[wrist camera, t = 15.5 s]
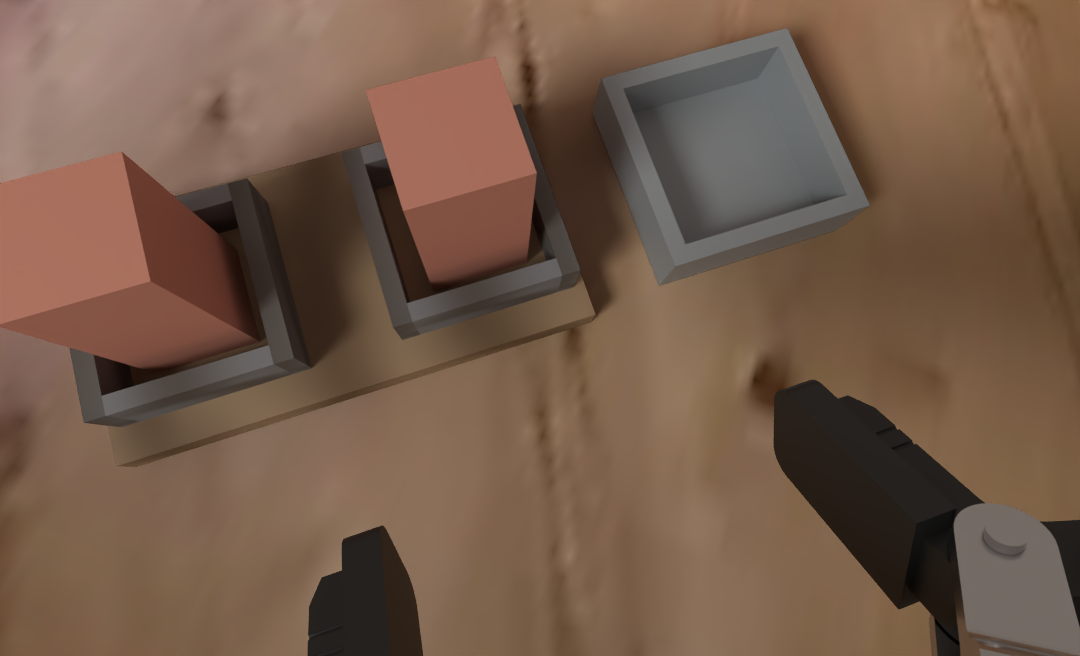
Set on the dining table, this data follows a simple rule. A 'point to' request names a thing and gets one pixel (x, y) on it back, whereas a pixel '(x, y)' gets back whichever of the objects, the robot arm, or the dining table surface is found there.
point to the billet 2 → (459, 169)
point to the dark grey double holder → (331, 306)
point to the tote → (725, 155)
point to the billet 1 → (118, 268)
